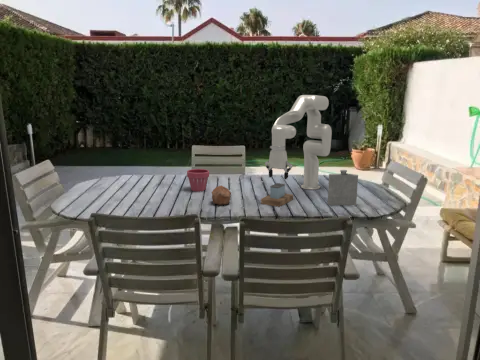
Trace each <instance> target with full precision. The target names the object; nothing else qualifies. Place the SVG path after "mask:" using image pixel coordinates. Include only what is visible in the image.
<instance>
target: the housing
mask: <svg viewBox="0 0 480 360" xmlns="http://www.w3.org/2000/svg"><path fill="white" fill-rule="evenodd" d="M269 189H270V190H269V195H270V198H275V199H279V198H281V197H283V196H285V193H286V184H285V183H280V182H279V183H278V182H277V183H274V184H272V185H270V186H269Z"/></svg>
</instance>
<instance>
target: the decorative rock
mask: <svg viewBox="0 0 480 360" xmlns="http://www.w3.org/2000/svg"><path fill="white" fill-rule="evenodd" d="M231 195H232V192H231V191H230V190H229V189H228V188H227V187H225V186H224V185H218V186H216V187H215V188H214V189H213V190H212V191H211V200H212V203H213V204H215V205H219V206H222V205H228V204H229V203H230V201H231Z"/></svg>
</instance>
